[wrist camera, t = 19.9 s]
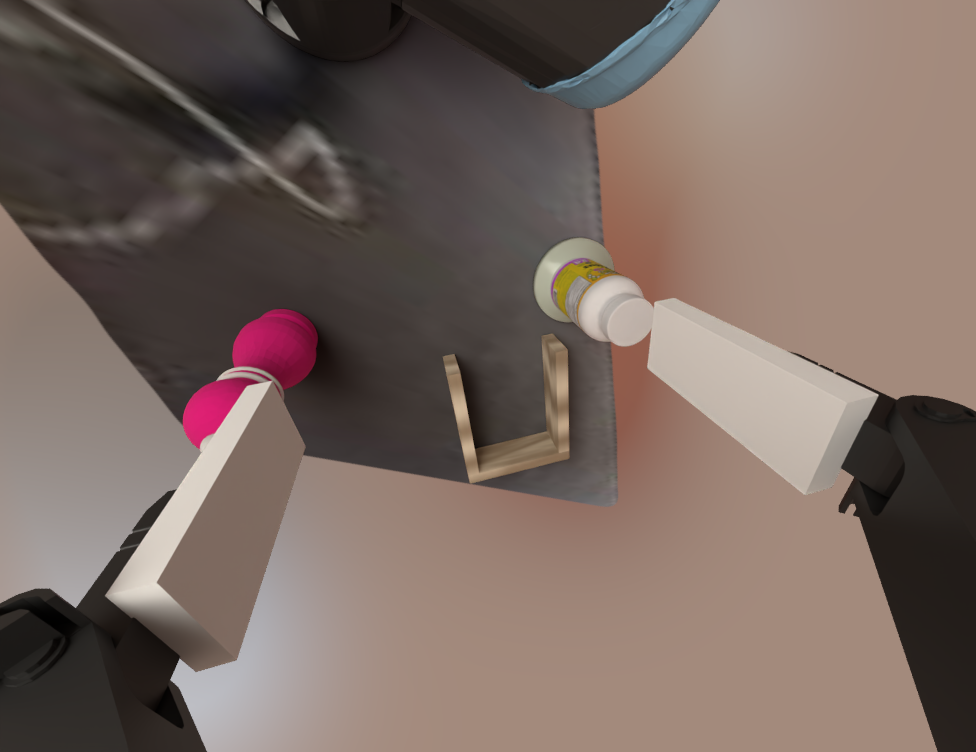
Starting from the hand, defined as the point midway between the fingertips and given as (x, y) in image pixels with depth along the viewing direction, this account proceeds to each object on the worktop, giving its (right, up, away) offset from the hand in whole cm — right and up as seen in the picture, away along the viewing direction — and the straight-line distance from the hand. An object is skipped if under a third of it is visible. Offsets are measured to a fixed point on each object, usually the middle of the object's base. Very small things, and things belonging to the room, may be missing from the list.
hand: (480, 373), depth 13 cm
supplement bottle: (+10, +11, +31) cm, 35 cm away
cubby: (+3, -4, +39) cm, 39 cm away
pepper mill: (-22, +5, +28) cm, 36 cm away
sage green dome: (+10, +12, +32) cm, 36 cm away
